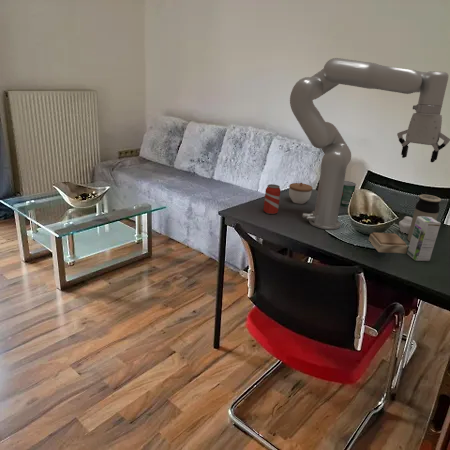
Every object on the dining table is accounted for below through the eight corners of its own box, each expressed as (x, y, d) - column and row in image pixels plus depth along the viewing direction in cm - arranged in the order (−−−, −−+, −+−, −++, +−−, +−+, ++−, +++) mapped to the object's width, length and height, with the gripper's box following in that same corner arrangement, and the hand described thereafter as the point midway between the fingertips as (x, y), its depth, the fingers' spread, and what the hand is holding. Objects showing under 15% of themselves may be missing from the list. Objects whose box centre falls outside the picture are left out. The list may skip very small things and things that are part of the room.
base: (378, 253, 142) (380, 242, 141) (368, 241, 152) (370, 231, 150) (405, 254, 143) (408, 244, 141) (394, 242, 152) (396, 233, 151)
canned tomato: (331, 203, 191) (335, 181, 187) (343, 201, 195) (348, 180, 190) (342, 208, 185) (346, 186, 181) (355, 207, 188) (359, 184, 184)
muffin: (397, 233, 160) (401, 217, 158) (396, 228, 165) (400, 212, 163) (413, 236, 158) (417, 220, 156) (412, 231, 164) (417, 215, 161)
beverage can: (280, 213, 173) (284, 187, 169) (269, 215, 170) (272, 188, 165) (271, 209, 178) (274, 183, 173) (260, 211, 174) (263, 184, 170)
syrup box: (406, 253, 143) (415, 215, 137) (421, 254, 143) (432, 216, 138) (414, 261, 137) (425, 222, 132) (430, 261, 138) (441, 222, 132)
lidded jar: (313, 205, 187) (316, 186, 183) (292, 205, 184) (295, 186, 181) (304, 198, 196) (307, 179, 193) (284, 198, 194) (286, 179, 190)
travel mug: (403, 236, 157) (415, 193, 150) (424, 238, 157) (436, 194, 150) (412, 245, 150) (424, 200, 143) (433, 246, 150) (446, 201, 143)
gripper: (399, 108, 139) (390, 157, 145) (454, 113, 128) (441, 165, 135) (406, 107, 144) (396, 154, 150) (459, 111, 134) (446, 162, 140)
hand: (417, 159), depth 142 cm, fingers open, 9 cm apart
